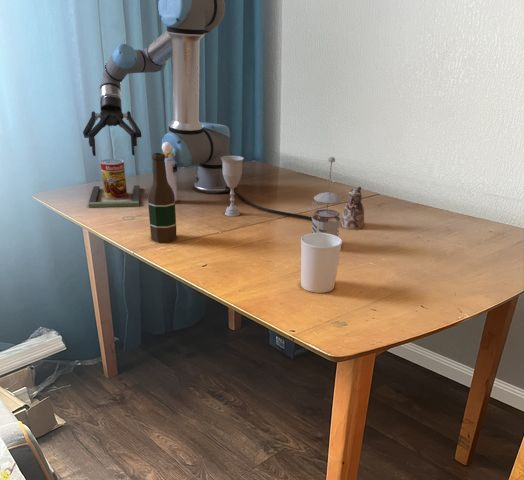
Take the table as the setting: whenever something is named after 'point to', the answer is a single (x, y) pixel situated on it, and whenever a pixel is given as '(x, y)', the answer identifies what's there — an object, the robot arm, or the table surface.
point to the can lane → (94, 202)
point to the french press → (326, 211)
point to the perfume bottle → (170, 166)
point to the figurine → (353, 210)
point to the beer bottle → (161, 203)
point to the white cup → (319, 261)
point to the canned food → (113, 178)
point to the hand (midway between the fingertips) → (113, 153)
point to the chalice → (232, 179)
